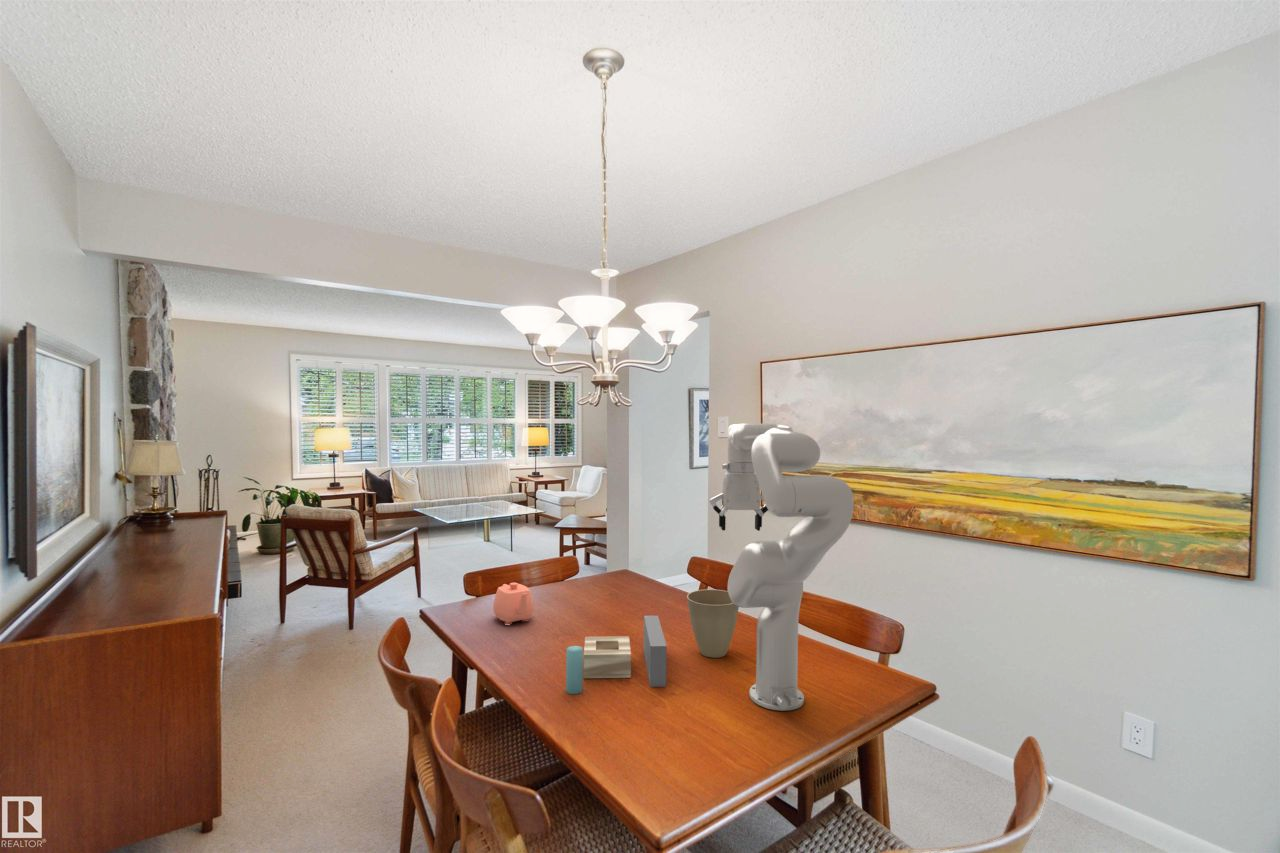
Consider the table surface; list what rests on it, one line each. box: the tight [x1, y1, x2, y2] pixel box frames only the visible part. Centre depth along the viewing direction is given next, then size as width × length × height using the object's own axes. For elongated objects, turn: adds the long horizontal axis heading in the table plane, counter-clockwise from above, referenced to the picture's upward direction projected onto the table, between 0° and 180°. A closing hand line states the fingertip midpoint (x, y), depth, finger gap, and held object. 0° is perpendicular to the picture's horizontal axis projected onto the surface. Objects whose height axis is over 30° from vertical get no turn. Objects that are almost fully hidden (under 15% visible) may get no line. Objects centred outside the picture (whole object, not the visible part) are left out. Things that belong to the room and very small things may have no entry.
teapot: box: [493, 582, 535, 625], centre depth 183 cm, size 20×12×12 cm, turn 35°
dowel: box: [565, 645, 584, 695], centre depth 136 cm, size 4×4×10 cm
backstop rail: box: [643, 615, 668, 688], centre depth 149 cm, size 22×4×10 cm, turn 4°
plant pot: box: [686, 588, 740, 659], centre depth 159 cm, size 15×15×16 cm
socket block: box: [583, 635, 632, 679], centre depth 148 cm, size 12×12×6 cm
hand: (740, 529), depth 156 cm, fingers open, 9 cm apart
